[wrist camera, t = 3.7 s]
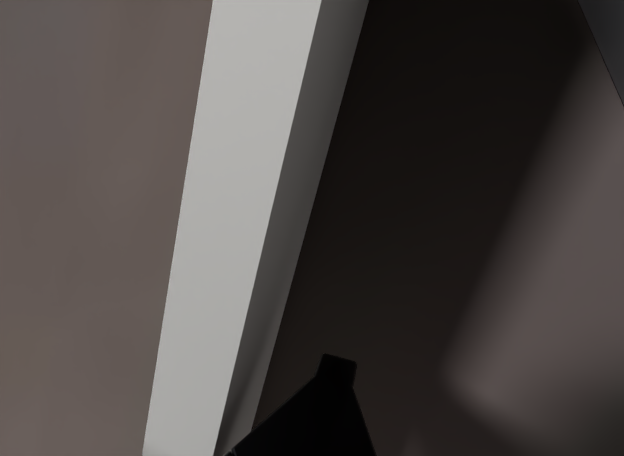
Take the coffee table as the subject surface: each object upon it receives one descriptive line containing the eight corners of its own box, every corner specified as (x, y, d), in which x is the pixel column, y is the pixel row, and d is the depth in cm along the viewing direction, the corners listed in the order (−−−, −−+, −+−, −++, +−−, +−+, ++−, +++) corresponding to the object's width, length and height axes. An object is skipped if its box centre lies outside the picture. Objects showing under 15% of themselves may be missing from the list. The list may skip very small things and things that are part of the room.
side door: (334, -306, 8) (215, -1066, 2) (452, -278, 7) (584, -1019, 2) (183, 442, 14) (64, 661, 9) (245, 463, 14) (160, 697, 9)
